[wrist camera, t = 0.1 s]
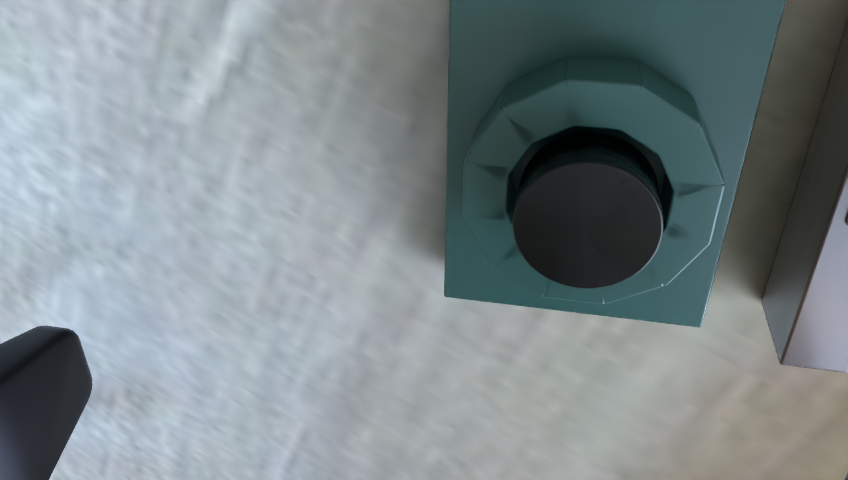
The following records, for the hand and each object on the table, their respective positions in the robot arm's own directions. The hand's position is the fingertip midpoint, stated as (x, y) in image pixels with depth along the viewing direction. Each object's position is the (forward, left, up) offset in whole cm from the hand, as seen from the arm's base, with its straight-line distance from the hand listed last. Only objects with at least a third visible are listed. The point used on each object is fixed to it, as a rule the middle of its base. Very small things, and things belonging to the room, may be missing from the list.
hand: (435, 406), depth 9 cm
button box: (-3, -2, -15) cm, 15 cm away
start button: (-3, -2, -11) cm, 12 cm away
